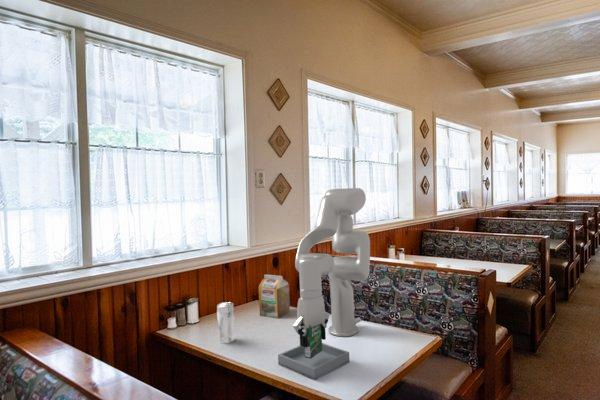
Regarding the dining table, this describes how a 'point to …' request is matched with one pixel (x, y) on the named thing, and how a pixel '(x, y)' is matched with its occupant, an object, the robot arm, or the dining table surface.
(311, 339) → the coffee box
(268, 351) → the dining table surface
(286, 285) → the milk carton
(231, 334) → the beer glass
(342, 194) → the robot arm
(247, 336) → the dining table surface
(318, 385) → the dining table surface
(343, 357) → the grey tray
